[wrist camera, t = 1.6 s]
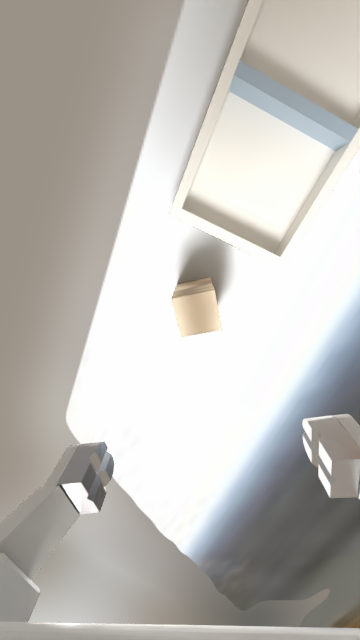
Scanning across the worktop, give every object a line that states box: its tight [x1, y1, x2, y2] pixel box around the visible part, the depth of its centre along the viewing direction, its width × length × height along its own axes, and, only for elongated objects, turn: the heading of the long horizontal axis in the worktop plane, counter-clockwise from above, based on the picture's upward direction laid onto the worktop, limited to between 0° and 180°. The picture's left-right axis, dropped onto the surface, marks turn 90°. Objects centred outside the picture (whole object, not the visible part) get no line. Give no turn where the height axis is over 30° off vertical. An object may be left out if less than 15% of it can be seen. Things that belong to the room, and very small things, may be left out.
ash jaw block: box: [172, 277, 222, 337], centre depth 25 cm, size 4×4×7 cm
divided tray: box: [169, 0, 360, 269], centre depth 19 cm, size 25×14×3 cm, turn 156°
